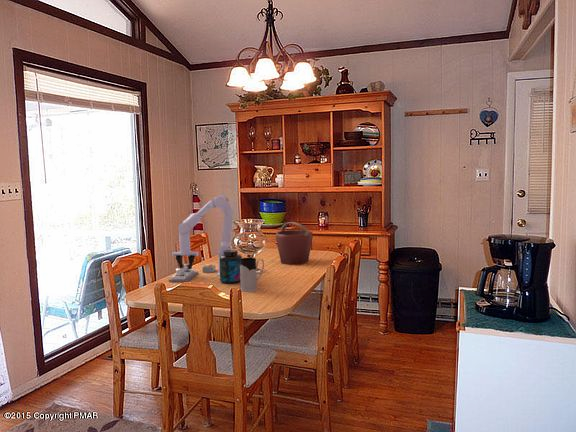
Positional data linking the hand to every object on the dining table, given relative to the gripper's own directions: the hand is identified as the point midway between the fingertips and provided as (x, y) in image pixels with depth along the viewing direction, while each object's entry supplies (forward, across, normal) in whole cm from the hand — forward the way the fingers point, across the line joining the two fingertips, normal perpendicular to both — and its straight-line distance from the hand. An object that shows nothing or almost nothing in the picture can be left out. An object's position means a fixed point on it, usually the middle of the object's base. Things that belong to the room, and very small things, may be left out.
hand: (186, 268), depth 258 cm
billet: (+3, 0, -1) cm, 3 cm away
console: (+4, -10, -11) cm, 15 cm away
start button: (+4, -10, -11) cm, 15 cm away
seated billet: (+3, 0, +10) cm, 10 cm away
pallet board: (+4, 0, +4) cm, 6 cm away
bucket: (+4, -57, -35) cm, 67 cm away
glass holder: (+4, -42, +28) cm, 51 cm away
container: (+4, -28, +13) cm, 32 cm away
